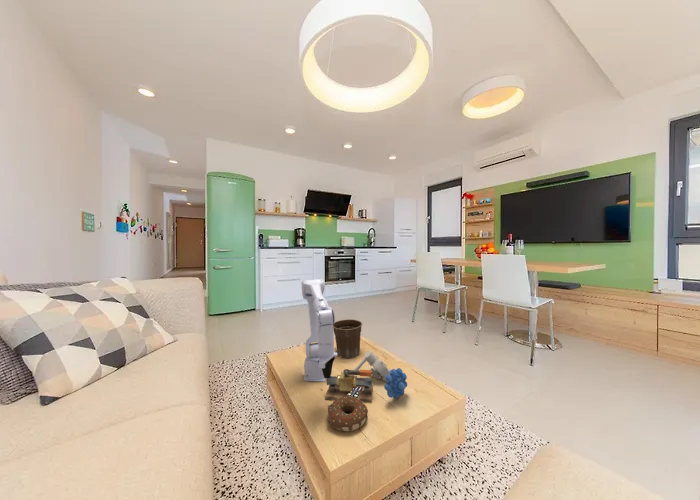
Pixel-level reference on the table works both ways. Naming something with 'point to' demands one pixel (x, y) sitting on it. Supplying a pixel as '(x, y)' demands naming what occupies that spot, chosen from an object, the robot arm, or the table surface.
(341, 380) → the pipe and valve body
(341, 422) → the donut
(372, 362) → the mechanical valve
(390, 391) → the grapes
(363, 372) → the valve lever
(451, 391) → the table surface
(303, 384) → the table surface
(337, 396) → the walnut board
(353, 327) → the plant pot
